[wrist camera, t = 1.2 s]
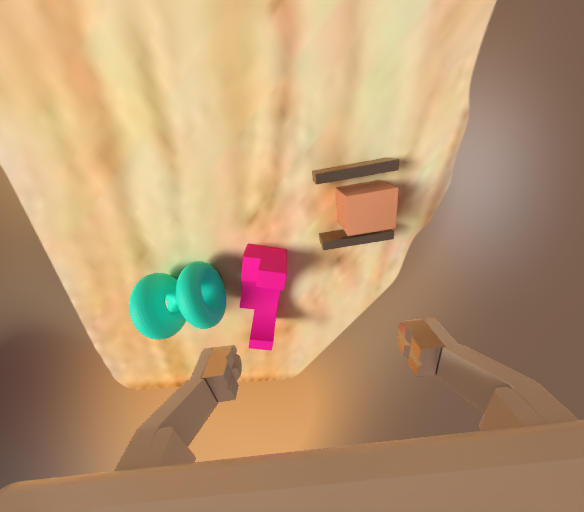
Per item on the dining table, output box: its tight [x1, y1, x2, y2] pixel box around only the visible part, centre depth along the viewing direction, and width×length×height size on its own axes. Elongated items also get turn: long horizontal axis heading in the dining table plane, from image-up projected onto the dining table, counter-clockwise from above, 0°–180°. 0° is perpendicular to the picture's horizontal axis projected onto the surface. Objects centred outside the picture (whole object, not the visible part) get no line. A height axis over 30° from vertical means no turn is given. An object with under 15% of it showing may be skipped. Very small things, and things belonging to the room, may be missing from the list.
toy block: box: [240, 244, 287, 350], centre depth 34 cm, size 15×6×8 cm, turn 170°
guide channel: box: [312, 158, 399, 250], centre depth 29 cm, size 10×10×4 cm
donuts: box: [129, 262, 226, 339], centre depth 31 cm, size 10×10×10 cm
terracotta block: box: [335, 180, 399, 236], centre depth 28 cm, size 5×6×6 cm
